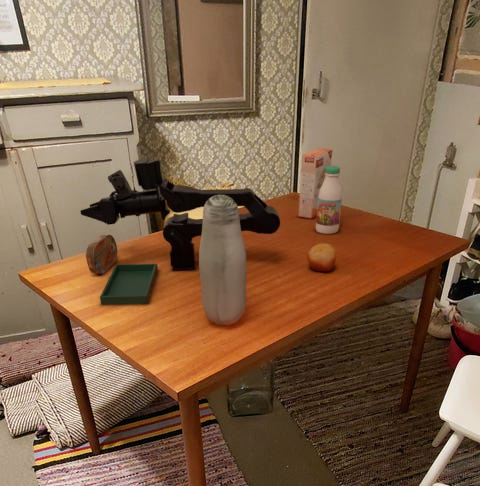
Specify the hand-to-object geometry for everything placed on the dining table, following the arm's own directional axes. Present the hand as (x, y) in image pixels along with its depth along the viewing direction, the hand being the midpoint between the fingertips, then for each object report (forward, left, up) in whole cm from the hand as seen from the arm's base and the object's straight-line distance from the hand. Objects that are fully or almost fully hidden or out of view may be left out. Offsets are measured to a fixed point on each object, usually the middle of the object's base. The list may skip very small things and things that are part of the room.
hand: (85, 209), depth 132 cm
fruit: (-64, +4, -17) cm, 67 cm away
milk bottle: (-71, -29, -17) cm, 79 cm away
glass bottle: (-37, +34, -17) cm, 53 cm away
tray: (-12, +13, -17) cm, 25 cm away
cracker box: (-69, -49, -17) cm, 87 cm away
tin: (-2, 0, -17) cm, 17 cm away
